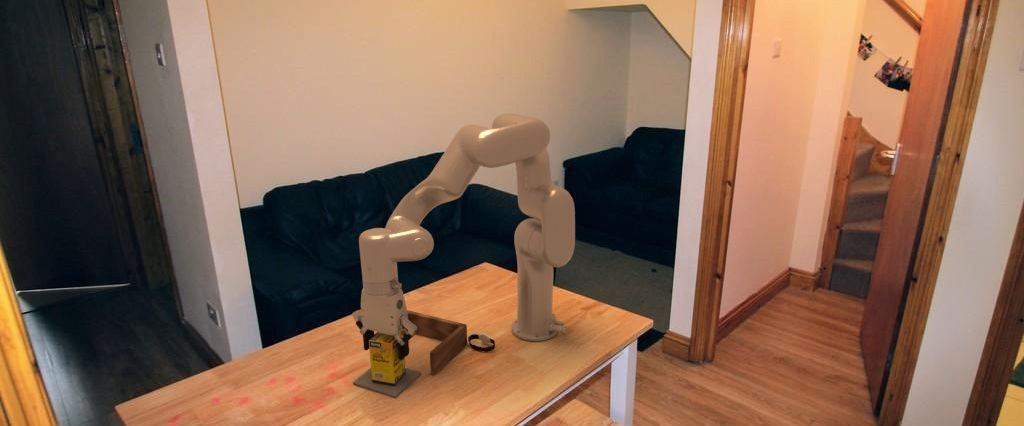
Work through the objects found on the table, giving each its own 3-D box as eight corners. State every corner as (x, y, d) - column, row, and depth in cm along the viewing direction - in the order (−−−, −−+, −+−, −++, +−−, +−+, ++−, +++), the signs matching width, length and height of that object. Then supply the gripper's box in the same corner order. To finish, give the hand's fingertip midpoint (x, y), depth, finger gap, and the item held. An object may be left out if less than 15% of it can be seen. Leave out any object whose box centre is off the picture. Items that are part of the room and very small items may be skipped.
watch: (498, 347, 139) (498, 334, 138) (489, 355, 135) (489, 343, 134) (473, 339, 142) (473, 327, 141) (464, 348, 138) (463, 335, 137)
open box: (467, 345, 139) (466, 324, 138) (435, 375, 126) (434, 353, 125) (409, 329, 147) (407, 310, 145) (373, 357, 134) (371, 336, 132)
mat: (421, 374, 127) (421, 372, 127) (395, 398, 118) (395, 396, 118) (380, 362, 132) (380, 360, 131) (353, 384, 123) (352, 382, 123)
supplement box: (395, 386, 121) (392, 344, 118) (371, 382, 123) (367, 340, 119) (406, 372, 127) (404, 331, 123) (384, 368, 128) (380, 327, 125)
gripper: (423, 284, 117) (427, 352, 123) (361, 271, 125) (367, 336, 130) (402, 298, 111) (407, 369, 116) (338, 283, 118) (346, 351, 123)
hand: (386, 352), depth 123 cm, fingers open, 9 cm apart
